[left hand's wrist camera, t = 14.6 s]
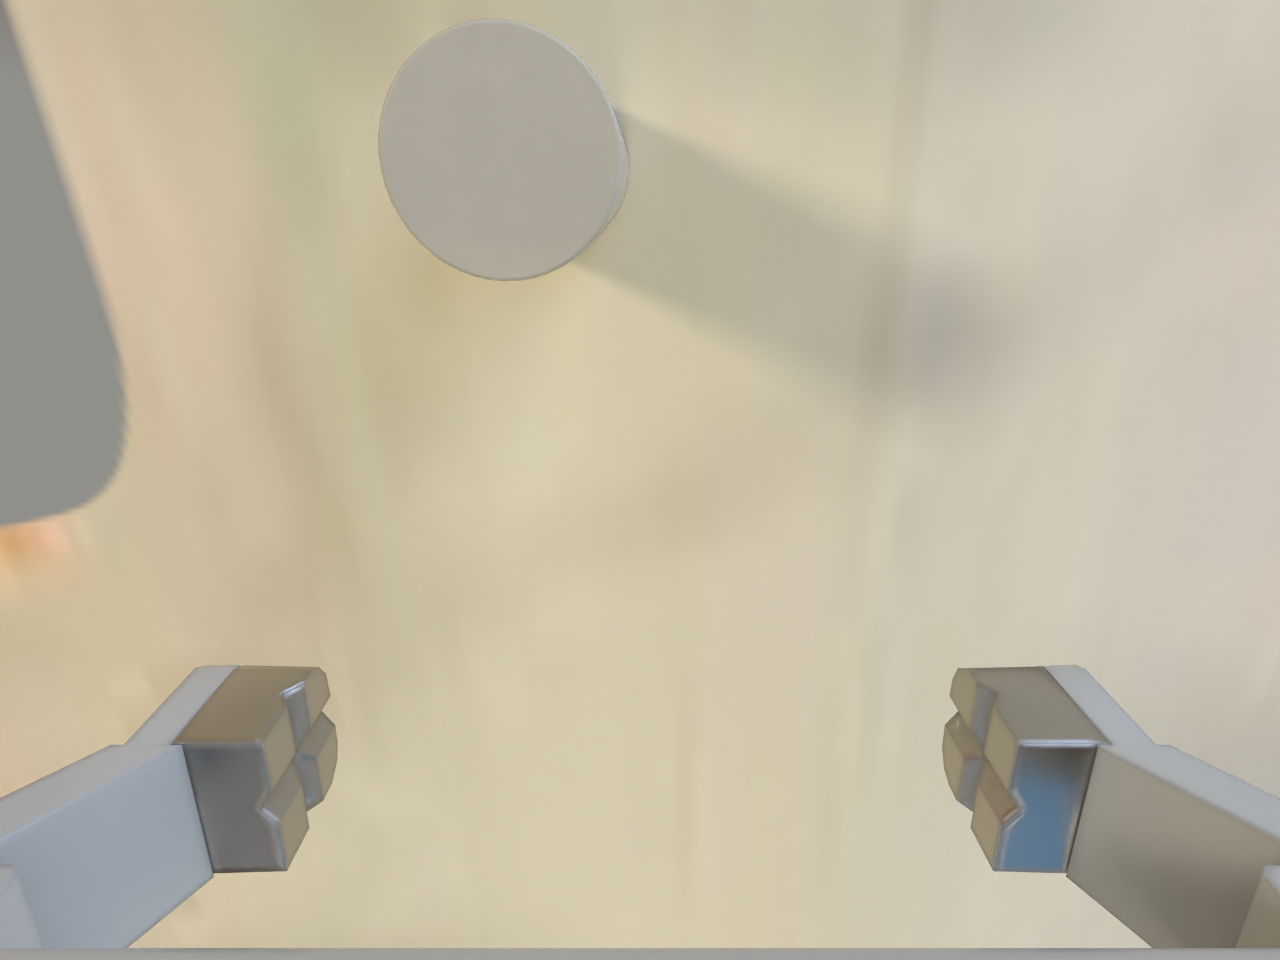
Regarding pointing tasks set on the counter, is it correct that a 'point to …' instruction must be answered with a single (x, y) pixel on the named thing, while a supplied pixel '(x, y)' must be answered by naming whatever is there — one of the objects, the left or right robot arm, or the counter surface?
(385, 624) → the counter surface
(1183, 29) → the counter surface
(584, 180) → the canister
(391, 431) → the counter surface
